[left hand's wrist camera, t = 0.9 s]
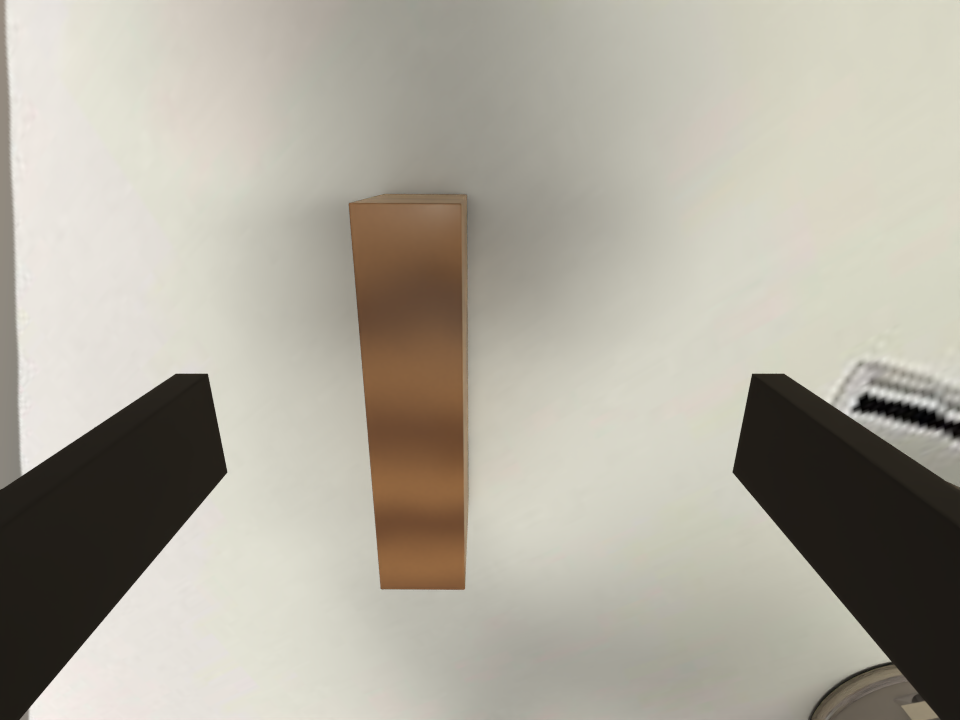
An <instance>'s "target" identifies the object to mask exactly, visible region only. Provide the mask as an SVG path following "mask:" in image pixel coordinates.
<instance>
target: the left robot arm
mask: <svg viewBox="0 0 960 720" xmlns="http://www.w3.org/2000/svg"><path fill="white" fill-rule="evenodd" d="M226 473H227V468H226V463H225V458H224V453H223V448H222V443H221V438H220V433H219V428H218V423H217V418H216V413H215V408H214V403H213V398H212V392H211V387H210V382H209V377H208V374H175V375H173V376H172V377H170V378H169V379H167V380H166V381H164V382H163V383H161V384H160V385H158V386H157V387H155V388H154V389H152V390H151V391H149V392H148V393H146V394H145V395H143V396H142V397H140V398H139V399H137V400H136V401H134V402H133V403H131V404H130V405H128V406H127V407H125V408H124V409H122V410H121V411H119V412H118V413H116V414H115V415H113V416H112V417H110V418H109V419H107V420H106V421H104V422H103V423H101V424H100V425H98V426H97V427H95V428H94V429H92V430H91V431H89V432H88V433H86V434H85V435H83V436H82V437H80V438H79V439H77V440H76V441H74V442H73V443H71V444H69V445H68V446H66V447H65V448H63V449H62V450H60V451H59V452H57V453H56V454H54V455H53V456H51V457H50V458H48V459H47V460H45V461H44V462H42V463H41V464H39V465H38V466H36V467H35V468H33V469H32V470H30V471H29V472H27V473H26V474H24V475H23V476H21V477H20V478H18V479H17V480H15V481H14V482H12V483H11V484H9V485H8V486H6V487H5V488H3V489H1V490H0V720H20V718H21V717H22V716H23V715H24V714H25V712H26V711H27V710H28V709H29V708H30V706H31V705H32V704H33V703H34V702H35V701H36V699H37V698H38V697H39V696H40V695H41V693H42V692H43V691H44V690H45V689H46V687H47V686H48V685H49V684H50V683H51V682H52V680H53V679H54V678H55V677H56V676H57V674H58V673H59V672H60V671H61V670H62V668H63V667H64V666H65V665H66V664H67V662H68V661H69V660H70V659H71V658H72V657H73V655H74V654H75V653H76V652H77V651H78V649H79V648H80V647H81V646H82V645H83V643H84V642H85V641H86V640H87V639H88V638H89V636H90V635H91V634H92V633H93V632H94V630H95V629H96V628H97V627H98V626H99V624H100V623H101V622H102V621H103V620H104V618H105V617H106V616H107V615H108V614H109V613H110V611H111V610H112V609H113V608H114V607H115V605H116V604H117V603H118V602H119V601H120V599H121V598H122V597H123V596H124V595H125V594H126V592H127V591H128V590H129V589H130V588H131V586H132V585H133V584H134V583H135V582H136V580H137V579H138V578H139V577H140V576H141V574H142V573H143V572H144V571H145V570H146V569H147V567H148V566H149V565H150V564H151V563H152V561H153V560H154V559H155V558H156V557H157V555H158V554H159V553H160V552H161V551H162V550H163V548H164V547H165V546H166V545H167V544H168V542H169V541H170V540H171V539H172V538H173V536H174V535H175V534H176V533H177V532H178V530H179V529H180V528H181V527H182V526H183V525H184V523H185V522H186V521H187V520H188V519H189V517H190V516H191V515H192V514H193V513H194V511H195V510H196V509H197V508H198V507H199V506H200V504H201V503H202V502H203V501H204V500H205V498H206V497H207V496H208V495H209V494H210V492H211V491H212V490H213V489H214V488H215V486H216V485H217V484H218V483H219V482H220V481H221V479H222V478H223V477H224V476H225V475H226ZM733 473H734V475H735V476H736V477H737V478H738V479H739V481H740V482H741V483H742V484H743V485H744V487H745V488H746V489H747V490H748V491H749V492H750V494H751V495H752V496H753V497H754V498H755V500H756V501H757V502H758V503H759V504H760V506H761V507H762V508H763V509H764V510H765V511H766V513H767V514H768V515H769V516H770V517H771V519H772V520H773V521H774V522H775V523H776V525H777V526H778V527H779V528H780V529H781V530H782V532H783V533H784V534H785V535H786V536H787V538H788V539H789V540H790V541H791V542H792V544H793V545H794V546H795V547H796V548H797V550H798V551H799V552H800V553H801V554H802V555H803V557H804V558H805V559H806V560H807V561H808V563H809V564H810V565H811V566H812V567H813V569H814V570H815V571H816V572H817V573H818V574H819V576H820V577H821V578H822V579H823V580H824V582H825V583H826V584H827V585H828V586H829V588H830V589H831V590H832V591H833V592H834V594H835V595H836V596H837V597H838V598H839V599H840V601H841V602H842V603H843V604H844V605H845V607H846V608H847V609H848V610H849V611H850V613H851V614H852V615H853V616H854V617H855V618H856V620H857V621H858V622H859V623H860V624H861V626H862V627H863V628H864V629H865V630H866V632H867V633H868V634H869V635H870V636H871V638H872V639H873V640H874V641H875V642H876V643H877V645H878V646H879V647H880V648H881V649H882V651H883V652H884V653H885V654H886V655H887V657H888V658H889V659H890V660H891V661H892V662H893V664H894V665H895V666H896V667H897V668H898V670H899V671H900V672H901V673H902V674H903V676H904V677H905V678H906V679H907V680H908V682H909V683H910V684H911V685H912V686H913V687H914V689H915V690H916V691H917V692H918V693H919V695H920V696H921V697H922V698H923V699H924V701H925V702H926V703H927V704H928V705H929V706H930V708H931V709H932V710H933V711H934V712H935V714H936V715H937V716H938V717H939V718H940V720H960V487H958V486H955V485H953V484H951V483H949V482H946V481H945V480H943V479H942V478H940V477H939V476H937V475H936V474H934V473H933V472H931V471H930V470H928V469H927V468H925V467H924V466H922V465H921V464H919V463H918V462H916V461H915V460H913V459H912V458H910V457H909V456H907V455H906V454H904V453H903V452H901V451H900V450H898V449H897V448H895V447H894V446H892V445H891V444H889V443H887V442H886V441H884V440H883V439H881V438H880V437H878V436H877V435H875V434H874V433H872V432H871V431H869V430H868V429H866V428H865V427H863V426H862V425H860V424H859V423H857V422H856V421H854V420H853V419H851V418H850V417H848V416H847V415H845V414H844V413H842V412H841V411H839V410H838V409H836V408H835V407H833V406H832V405H830V404H829V403H827V402H826V401H824V400H823V399H821V398H820V397H818V396H817V395H815V394H814V393H812V392H811V391H809V390H808V389H806V388H805V387H803V386H802V385H800V384H799V383H797V382H796V381H794V380H793V379H791V378H790V377H788V376H787V375H785V374H752V377H751V382H750V387H749V392H748V397H747V403H746V408H745V413H744V418H743V423H742V428H741V433H740V438H739V443H738V448H737V453H736V458H735V463H734V468H733Z"/></svg>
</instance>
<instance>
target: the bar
mask: <svg viewBox="0 0 960 720" xmlns="http://www.w3.org/2000/svg"><path fill="white" fill-rule="evenodd" d="M349 213H350V225H351V237H352V249H353V261H354V273H355V285H356V297H357V309H358V321H359V333H360V345H361V357H362V369H363V381H364V393H365V405H366V417H367V429H368V441H369V453H370V465H371V477H372V489H373V501H374V513H375V526H376V538H377V550H378V562H379V574H380V586H381V589H440V590H464V589H465V576H466V551H467V526H468V321H467V195H466V194H383V195H379V196H375V197H371V198H367V199H363V200H359V201H355V202H351V203H349Z"/></svg>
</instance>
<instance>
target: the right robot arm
mask: <svg viewBox="0 0 960 720" xmlns="http://www.w3.org/2000/svg"><path fill="white" fill-rule="evenodd" d="M811 720H940V718H939V717H938V716H937V715H936V714H935V712H934V711H933V710H932V709H931V708H930V706H929V705H928V704H927V703H926V702H925V701H924V699H923V698H922V697H921V696H920V695H919V693H918V692H917V691H916V690H915V689H914V687H913V686H912V685H911V684H910V683H909V682H908V680H907V679H906V678H905V677H904V676H903V674H902V673H901V672H900V671H899V670H898V668H897V667H896V666H895V665H894V664H893V665H888V666H883V667H880V668H876V669H873V670H870V671H868V672H865V673H863V674H860V675H858V676H856V677H854V678H852V679H850V680H848V681H847V682H845V683H844V684H842V685H841V686H839V687H838V688H836V689H835V690H834V691H833V692H831V693H830V694H829V695H828V696H827V697H826V698H825V699H824V700H823V701H822V702H821V704H820V705H819V706H818V708H817V709H816V711H815V712H814V714H813V716H812V719H811Z"/></svg>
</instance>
